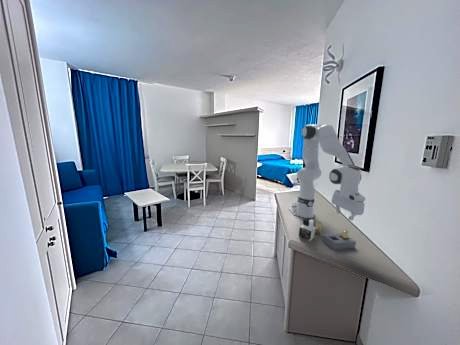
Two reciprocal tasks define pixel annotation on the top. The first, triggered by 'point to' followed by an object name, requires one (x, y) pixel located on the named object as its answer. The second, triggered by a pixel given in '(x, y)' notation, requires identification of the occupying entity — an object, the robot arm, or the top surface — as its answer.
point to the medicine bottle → (307, 229)
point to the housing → (338, 241)
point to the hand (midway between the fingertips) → (344, 216)
